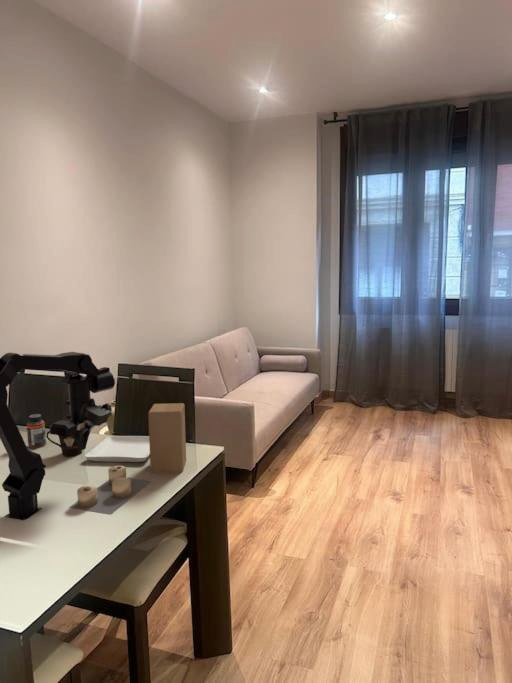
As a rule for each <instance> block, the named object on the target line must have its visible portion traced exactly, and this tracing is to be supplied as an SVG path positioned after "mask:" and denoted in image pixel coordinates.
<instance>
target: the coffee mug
mask: <svg viewBox="0 0 512 683" xmlns="http://www.w3.org/2000/svg"><path fill="white" fill-rule="evenodd" d="M49 434H50V430H48V431H47V433H46V434H45V435H46V438H47V439H46V440H48V441H49V442H50V443H52V444H53V445H56V446H58V447H59V448H60V450H61V455H62V456H63V457H66V458H71V457H77V456H80V455H81V454H82V453H83V450H81V449H80V448H79V446H78V445H77V443H76V441H75V440H74V438H73V437H72V435H68V436H63V435H57V436H58V439H59V443H58V442H56V441H54V440H52V439H51V438H50V437H49Z"/></svg>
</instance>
